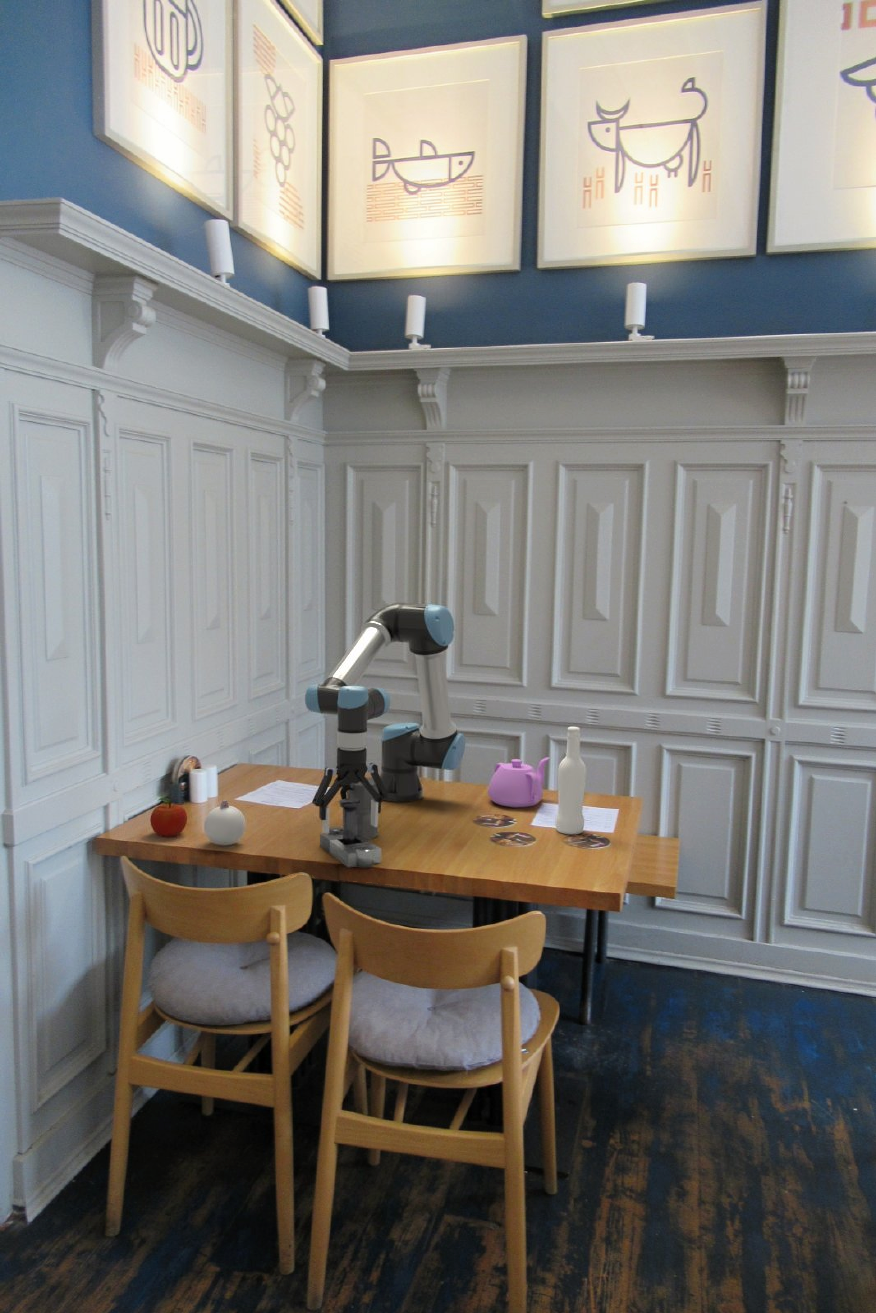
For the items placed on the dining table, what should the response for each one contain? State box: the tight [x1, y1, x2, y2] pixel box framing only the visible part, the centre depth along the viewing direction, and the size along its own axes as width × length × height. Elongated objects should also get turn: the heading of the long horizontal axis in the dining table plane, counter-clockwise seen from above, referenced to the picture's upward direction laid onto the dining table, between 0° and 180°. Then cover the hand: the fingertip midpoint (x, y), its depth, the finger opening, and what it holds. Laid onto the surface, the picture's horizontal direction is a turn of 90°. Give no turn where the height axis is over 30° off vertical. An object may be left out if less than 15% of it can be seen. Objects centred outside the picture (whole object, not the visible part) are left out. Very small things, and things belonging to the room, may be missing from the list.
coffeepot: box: [339, 774, 379, 840], centre depth 259 cm, size 15×9×18 cm, turn 145°
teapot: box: [487, 756, 551, 809], centre depth 299 cm, size 22×22×14 cm
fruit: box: [149, 797, 188, 838], centre depth 255 cm, size 10×10×10 cm
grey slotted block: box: [319, 826, 382, 869], centre depth 244 cm, size 9×22×4 cm, turn 30°
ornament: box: [203, 799, 246, 846], centre depth 249 cm, size 10×10×12 cm
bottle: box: [554, 726, 587, 835], centre depth 269 cm, size 8×8×30 cm
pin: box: [338, 798, 360, 845], centre depth 243 cm, size 5×5×14 cm
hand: (350, 828), depth 243 cm, fingers open, 13 cm apart
